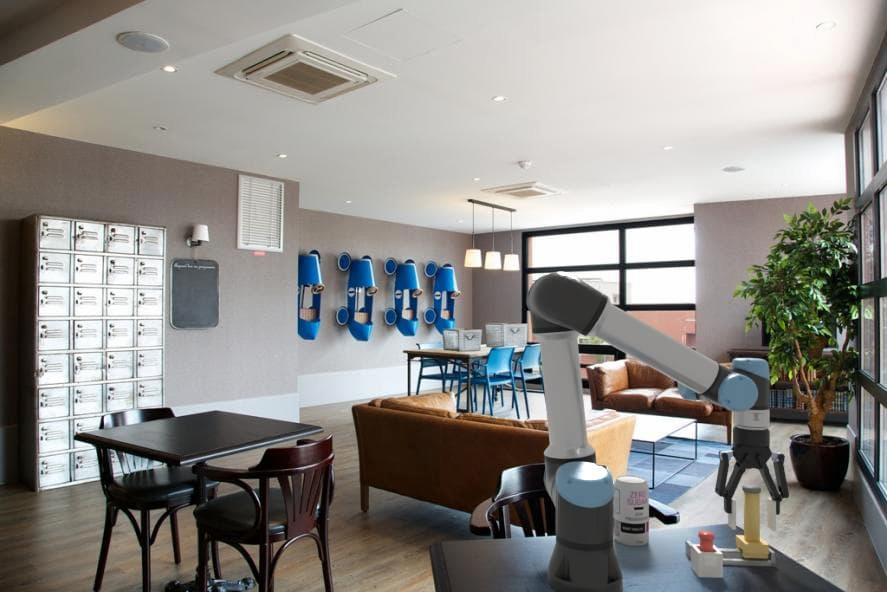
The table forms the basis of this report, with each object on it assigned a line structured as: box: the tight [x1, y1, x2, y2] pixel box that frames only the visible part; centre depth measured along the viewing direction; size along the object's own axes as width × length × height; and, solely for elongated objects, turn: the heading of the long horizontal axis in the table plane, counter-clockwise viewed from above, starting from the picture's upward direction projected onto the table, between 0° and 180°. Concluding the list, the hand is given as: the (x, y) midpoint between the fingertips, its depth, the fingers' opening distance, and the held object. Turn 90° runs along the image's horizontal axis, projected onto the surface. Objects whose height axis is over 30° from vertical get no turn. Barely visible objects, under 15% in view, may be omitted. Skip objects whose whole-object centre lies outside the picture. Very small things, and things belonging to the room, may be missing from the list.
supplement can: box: [613, 474, 650, 547], centre depth 152 cm, size 8×8×15 cm
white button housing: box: [690, 543, 724, 579], centre depth 134 cm, size 5×5×5 cm
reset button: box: [697, 530, 716, 552], centre depth 134 cm, size 3×3×5 cm
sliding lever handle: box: [735, 484, 770, 558], centre depth 141 cm, size 5×6×15 cm
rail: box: [685, 540, 776, 567], centre depth 141 cm, size 17×6×3 cm, turn 86°
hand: (751, 528), depth 141 cm, fingers open, 8 cm apart
